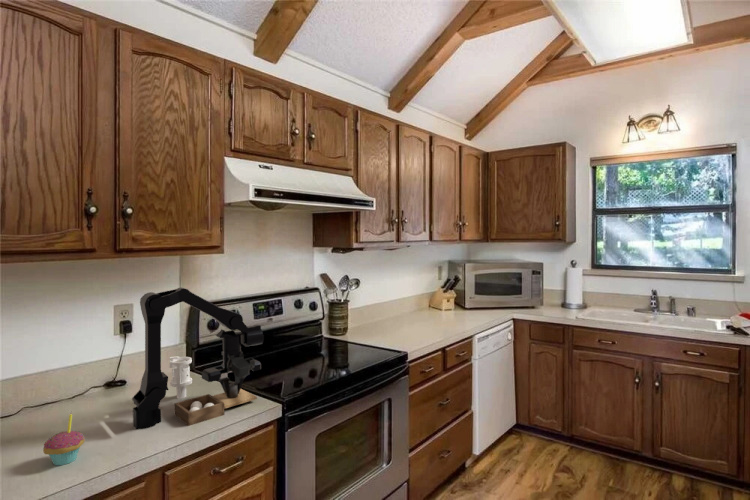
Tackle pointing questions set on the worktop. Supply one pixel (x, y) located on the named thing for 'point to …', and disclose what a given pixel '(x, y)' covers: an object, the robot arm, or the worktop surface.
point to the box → (199, 410)
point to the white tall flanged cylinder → (180, 374)
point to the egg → (196, 405)
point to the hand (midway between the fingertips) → (232, 395)
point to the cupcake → (64, 445)
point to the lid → (235, 396)
